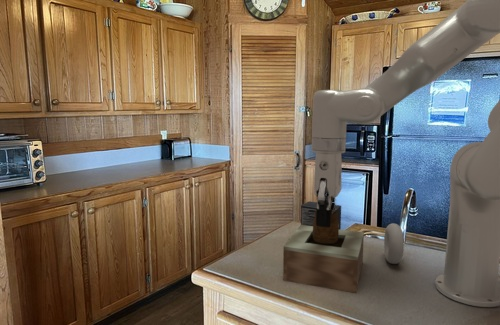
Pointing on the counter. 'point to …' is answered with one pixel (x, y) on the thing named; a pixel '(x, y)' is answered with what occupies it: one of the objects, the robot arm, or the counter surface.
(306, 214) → the small box
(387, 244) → the donut
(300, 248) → the drop box
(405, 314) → the counter surface
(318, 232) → the utensil holder
